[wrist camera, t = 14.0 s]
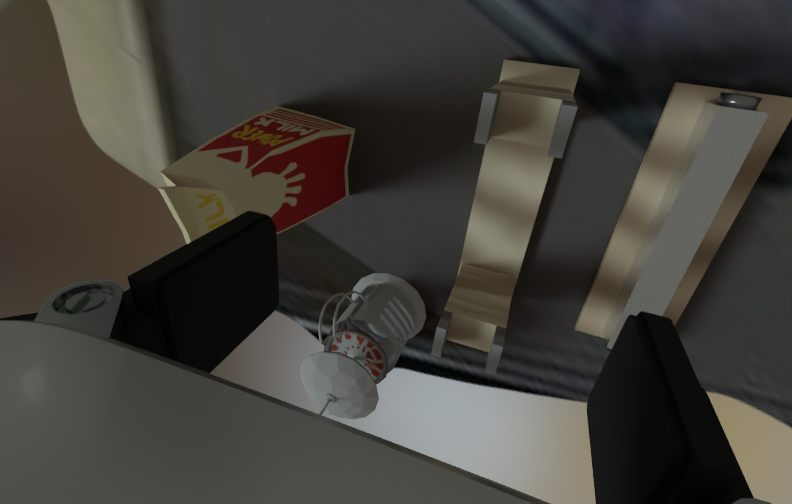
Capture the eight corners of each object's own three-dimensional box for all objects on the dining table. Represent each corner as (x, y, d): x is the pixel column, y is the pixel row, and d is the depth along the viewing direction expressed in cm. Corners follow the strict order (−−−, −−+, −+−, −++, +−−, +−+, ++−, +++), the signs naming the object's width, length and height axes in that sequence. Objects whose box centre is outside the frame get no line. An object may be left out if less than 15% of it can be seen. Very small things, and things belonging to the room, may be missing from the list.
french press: (367, 343, 54) (246, 535, 32) (334, 266, 50) (174, 426, 29) (436, 337, 49) (349, 554, 28) (406, 252, 46) (280, 429, 24)
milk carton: (277, 105, 43) (99, 143, 26) (356, 124, 41) (219, 177, 24) (277, 186, 47) (125, 262, 31) (348, 206, 45) (228, 300, 29)
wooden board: (675, 82, 31) (677, 82, 31) (797, 98, 29) (802, 99, 29) (574, 326, 43) (575, 329, 42) (658, 349, 41) (659, 353, 40)
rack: (505, 59, 34) (483, 64, 24) (579, 69, 33) (592, 79, 22) (454, 292, 46) (425, 366, 35) (508, 307, 44) (494, 389, 34)
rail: (710, 89, 30) (724, 93, 28) (756, 96, 29) (775, 100, 27) (600, 335, 41) (603, 353, 39) (631, 343, 41) (637, 363, 38)
